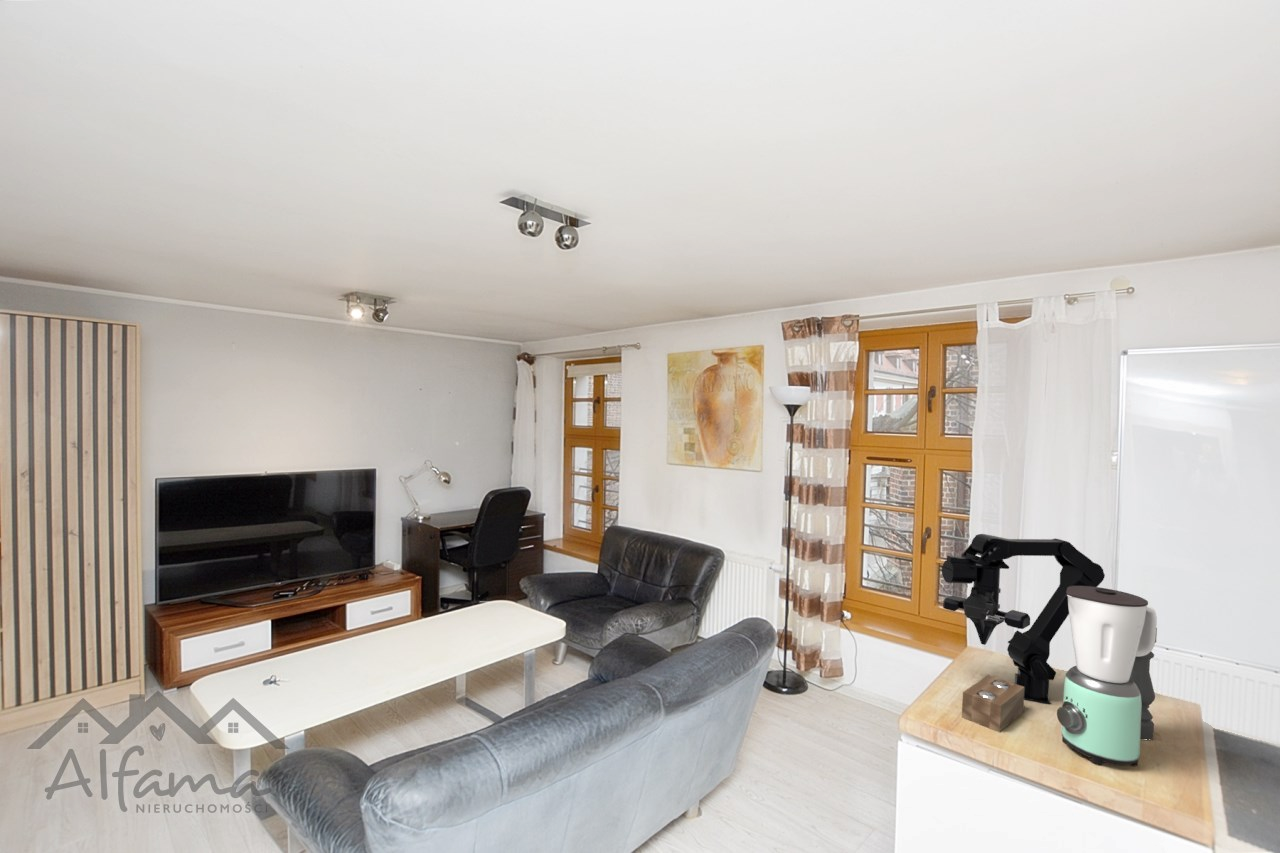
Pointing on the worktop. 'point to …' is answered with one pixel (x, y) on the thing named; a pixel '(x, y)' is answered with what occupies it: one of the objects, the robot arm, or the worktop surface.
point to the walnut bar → (993, 703)
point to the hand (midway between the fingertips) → (983, 644)
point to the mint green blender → (1105, 673)
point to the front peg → (987, 695)
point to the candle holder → (1144, 692)
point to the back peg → (1001, 684)
